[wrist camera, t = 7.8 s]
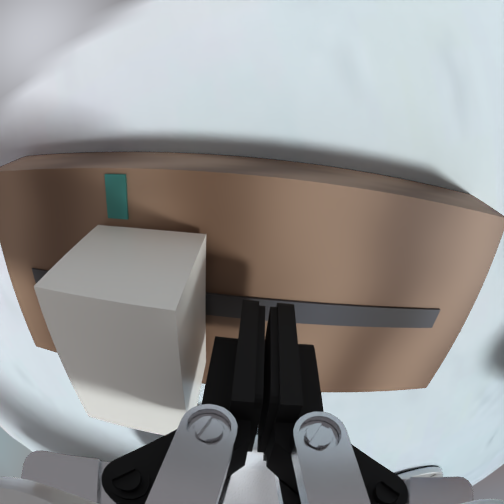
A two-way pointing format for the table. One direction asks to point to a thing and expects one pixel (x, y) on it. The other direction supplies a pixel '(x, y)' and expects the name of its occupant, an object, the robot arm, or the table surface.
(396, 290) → the dimmer panel
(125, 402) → the cap
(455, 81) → the table surface
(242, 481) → the spoon rest
